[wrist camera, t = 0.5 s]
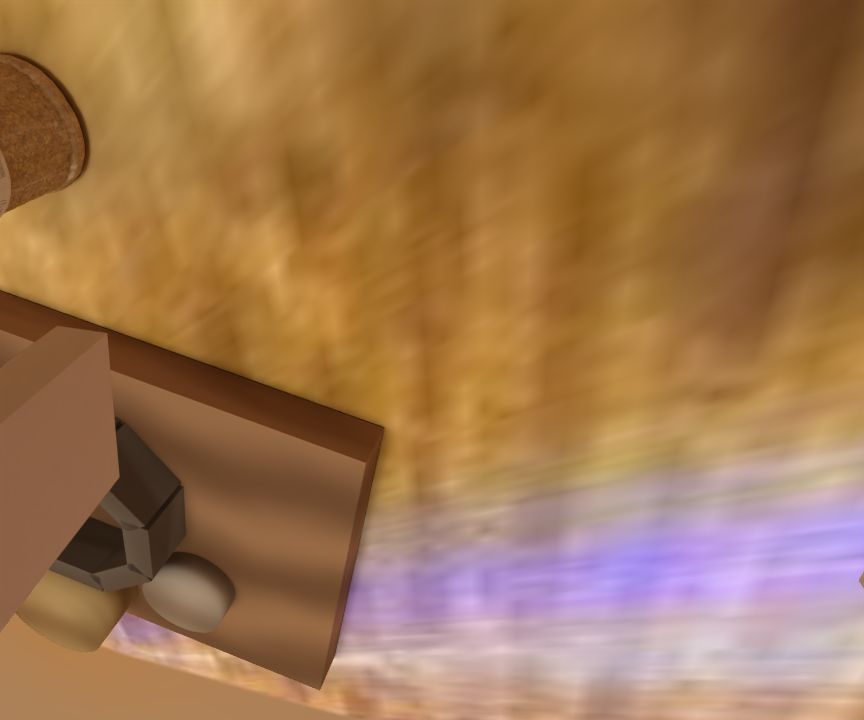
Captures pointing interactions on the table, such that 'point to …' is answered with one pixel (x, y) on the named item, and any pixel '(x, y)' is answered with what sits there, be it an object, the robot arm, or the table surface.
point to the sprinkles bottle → (35, 135)
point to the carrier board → (209, 511)
